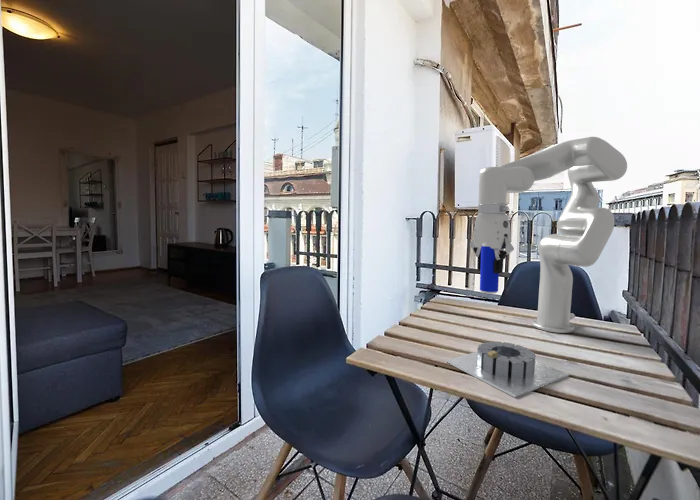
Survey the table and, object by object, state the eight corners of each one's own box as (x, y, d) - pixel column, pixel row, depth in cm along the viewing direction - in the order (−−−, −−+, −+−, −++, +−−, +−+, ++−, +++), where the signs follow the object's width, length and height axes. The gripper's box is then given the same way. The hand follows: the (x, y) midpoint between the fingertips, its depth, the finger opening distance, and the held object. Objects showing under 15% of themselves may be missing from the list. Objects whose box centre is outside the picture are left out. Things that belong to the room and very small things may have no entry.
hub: (497, 347, 103) (498, 329, 102) (568, 376, 85) (570, 354, 85) (446, 362, 93) (447, 342, 92) (515, 397, 75) (516, 373, 75)
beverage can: (499, 294, 104) (501, 243, 102) (481, 293, 105) (482, 243, 103) (496, 290, 109) (498, 241, 107) (478, 289, 110) (480, 241, 108)
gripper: (526, 210, 99) (523, 274, 101) (477, 210, 113) (475, 266, 116) (509, 210, 95) (506, 277, 97) (460, 210, 110) (458, 268, 112)
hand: (489, 270), depth 106 cm, fingers closed on beverage can, 5 cm apart
